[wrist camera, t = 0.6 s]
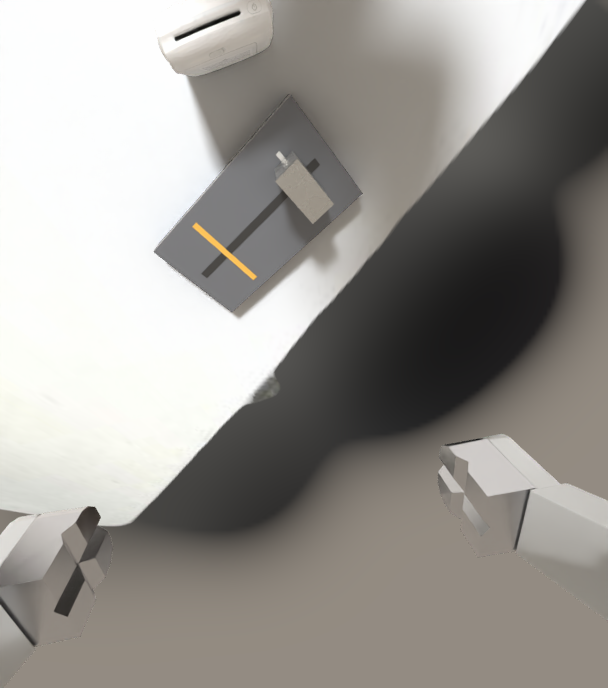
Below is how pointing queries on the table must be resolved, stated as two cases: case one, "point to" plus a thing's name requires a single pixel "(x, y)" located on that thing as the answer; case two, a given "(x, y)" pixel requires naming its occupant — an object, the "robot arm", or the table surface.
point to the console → (255, 211)
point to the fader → (302, 187)
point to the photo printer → (213, 33)
